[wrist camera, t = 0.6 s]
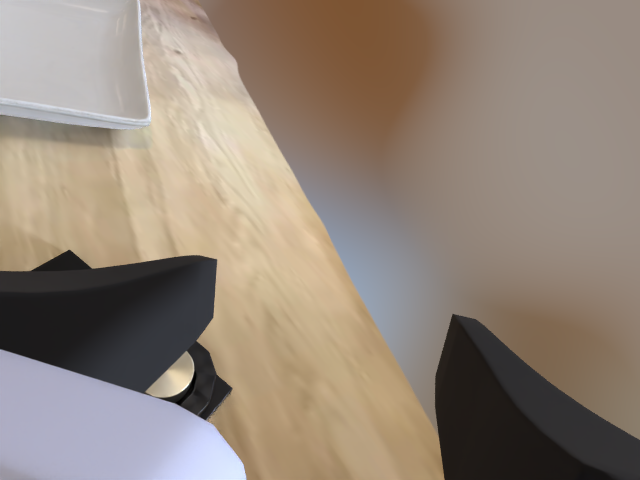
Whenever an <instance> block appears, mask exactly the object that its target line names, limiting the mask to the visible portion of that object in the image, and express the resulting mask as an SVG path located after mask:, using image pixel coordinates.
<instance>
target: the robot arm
mask: <svg viewBox="0 0 640 480" xmlns="http://www.w3.org/2000/svg"><path fill="white" fill-rule="evenodd" d="M216 268H217V259H213V258H208V257H204V256H200V255H191V256H180V257H173V258H166V259H160V260H154V261H147V262H141V263H134V264H127V265H120V266H112V267H105V268H96V269H85V270H69V271H0V480H246V475H245V470H244V465H243V463H242V462H241V460H240V458H239V457H238V456H237V455H236V453H235V452H234V451H233V449H232V448H231V447H230V446H229V444H228V443H227V442H226V441H225V439H224V438H223V437H222V435H221V434H220V433H219V432H218V430H217V429H216V428H215V427H214V425H213V424H211V423H209V422H207V421H205V420H204V419H202V418H200V417H198V416H196V415H195V414H193V413H191V412H189V411H188V410H186V409H184V408H182V407H180V406H179V405H177V404H175V403H172V402H168V401H165V400H162V399H159V398H155V397H152V396H149V395H146V394H144V393H145V391H146V390H147V389H148V388H149V387H151V386H152V385H153V384H154V383H155V382H156V381H157V380H158V379H159V378H160V377H161V376H162V375H163V374H164V373H165V372H166V371H167V370H168V369H169V368H170V367H171V366H172V365H173V364H174V363H175V362H176V361H177V360H178V359H179V358H180V357H181V356H182V355H183V354H184V353H185V352H186V351H187V350H188V349H189V348H190V347H191V346H192V345H193V344H194V343H195V341H196V340H197V339H198V338H199V336H200V335H201V334H202V333H203V331H204V330H205V328H206V327H207V326H208V324H209V323H210V321H211V320H212V318H213V313H214V298H215V283H216ZM435 409H436V418H437V425H438V433H439V441H440V448H441V456H442V463H443V470H444V478H445V480H640V440H639V439H637V438H635V437H633V436H631V435H630V434H628V433H627V432H625V431H623V430H621V429H620V428H618V427H616V426H615V425H613V424H611V423H609V422H608V421H606V420H604V419H603V418H601V417H599V416H598V415H596V414H595V413H593V412H592V411H590V410H588V409H587V408H585V407H584V406H582V405H581V404H579V403H578V402H576V401H575V400H574V399H572V398H571V397H569V396H568V395H566V394H565V393H563V392H562V391H561V390H559V389H558V388H556V387H555V386H554V385H552V384H551V383H550V382H548V381H547V380H546V379H545V378H543V377H542V376H541V375H540V374H538V373H537V372H536V371H535V370H533V369H532V368H531V367H530V366H529V365H527V364H526V363H525V362H524V361H523V360H521V359H520V358H519V357H518V356H517V355H516V354H515V353H514V352H512V351H511V350H510V349H509V348H508V347H507V346H506V345H505V344H504V343H502V342H501V341H500V340H499V339H498V338H497V337H496V336H495V335H494V334H493V333H491V331H489V330H488V329H487V328H486V327H485V326H484V325H482V324H481V323H480V322H479V321H477V320H476V319H472V318H467V317H463V316H459V315H455V314H453V315H452V318H451V322H450V326H449V329H448V333H447V336H446V340H445V343H444V347H443V351H442V354H441V358H440V361H439V365H438V369H437V372H436V378H435Z"/></svg>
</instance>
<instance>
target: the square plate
mask: <svg viewBox="0 0 640 480" xmlns="http://www.w3.org/2000/svg"><path fill="white" fill-rule="evenodd" d="M0 115H7V116H15V117H22V118H29V119H36V120H43V121H50V122H57V123H65V124H73V125H81V126H91V127H101V128H112V129H138V128H141V127H146V126H149V124H150V122H151V108H150V101H149V93H148V87H147V81H146V74H145V67H144V59H143V50H142V37H141V9H140V2H139V0H0Z"/></svg>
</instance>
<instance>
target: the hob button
mask: <svg viewBox="0 0 640 480" xmlns="http://www.w3.org/2000/svg"><path fill="white" fill-rule="evenodd" d="M193 375H194V362H193V360H192V357H191V356H190V354H189V353H188V352H187V351H186V352H185V353H184V354H183V355H182V356H181V357H180V358H179V359H178V360H177V361H176V362H175V363H174V364H173V365H172V366H171V367H170V368H169V369H168V370H167V371H166V372H165V373H164V374H163V375H162V376H161V377H160V378H159V379H158V380H157V381H156V382H155V383H154V384H153V385H152V386H151V387H149V388H148V389H147V390H146V391H145V393H144V394H146V395H149V396H152V397H155V398H159V399H162V400H165V401H168V402H172V403H176V402H178V401H179V400H180V399H182V398H183V397H184V395H185V394H186V393H187V391H188V389H189V387H190V384H191V381H192V378H193Z"/></svg>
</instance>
